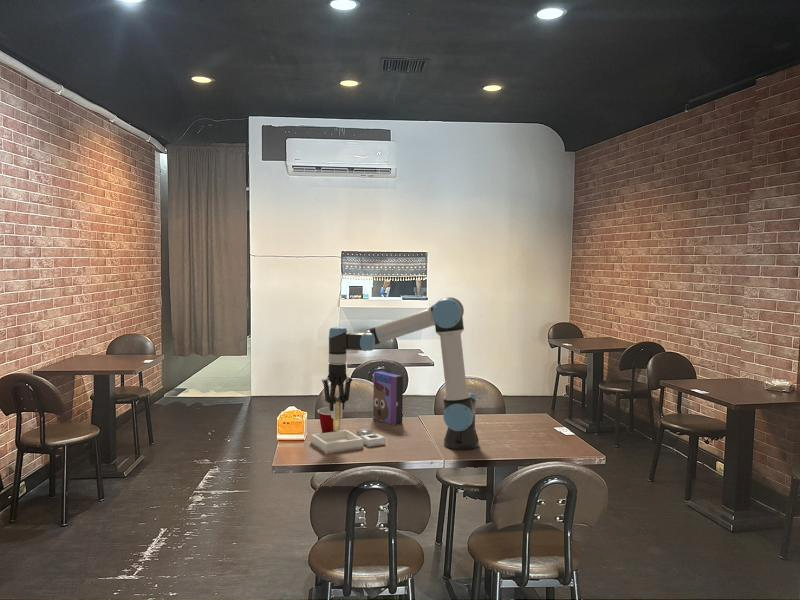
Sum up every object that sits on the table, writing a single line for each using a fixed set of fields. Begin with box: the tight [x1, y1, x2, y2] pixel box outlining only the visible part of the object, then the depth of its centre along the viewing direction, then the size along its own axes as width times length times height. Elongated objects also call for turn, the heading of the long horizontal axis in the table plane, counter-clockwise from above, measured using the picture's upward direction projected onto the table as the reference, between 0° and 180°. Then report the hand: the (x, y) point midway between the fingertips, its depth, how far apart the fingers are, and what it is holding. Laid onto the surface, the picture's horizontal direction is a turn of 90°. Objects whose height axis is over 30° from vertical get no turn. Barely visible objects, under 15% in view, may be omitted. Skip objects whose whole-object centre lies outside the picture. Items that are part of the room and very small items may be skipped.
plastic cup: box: [317, 406, 334, 433], centre depth 280 cm, size 11×11×12 cm
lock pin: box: [333, 395, 341, 431], centre depth 263 cm, size 4×4×14 cm
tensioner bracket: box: [355, 428, 386, 448], centre depth 272 cm, size 16×8×4 cm, turn 30°
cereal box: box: [372, 371, 404, 426], centre depth 308 cm, size 17×5×24 cm, turn 40°
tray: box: [310, 429, 364, 455], centre depth 264 cm, size 17×17×4 cm
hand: (336, 417), depth 263 cm, fingers closed on lock pin, 2 cm apart
